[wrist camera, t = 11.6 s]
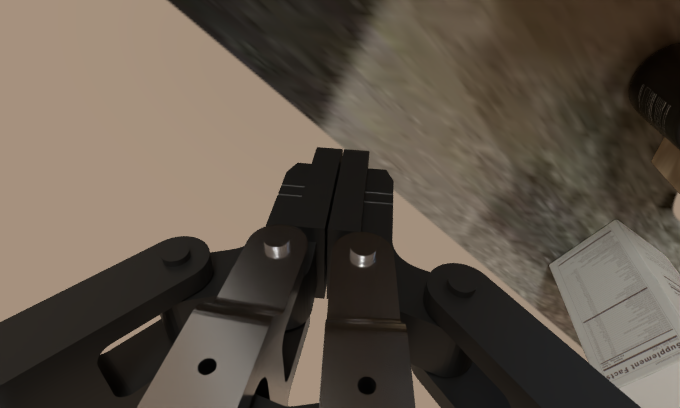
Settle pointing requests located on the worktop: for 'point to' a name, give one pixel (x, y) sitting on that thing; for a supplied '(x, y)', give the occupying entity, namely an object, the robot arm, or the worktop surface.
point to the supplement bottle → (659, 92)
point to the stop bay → (668, 162)
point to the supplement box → (625, 312)
